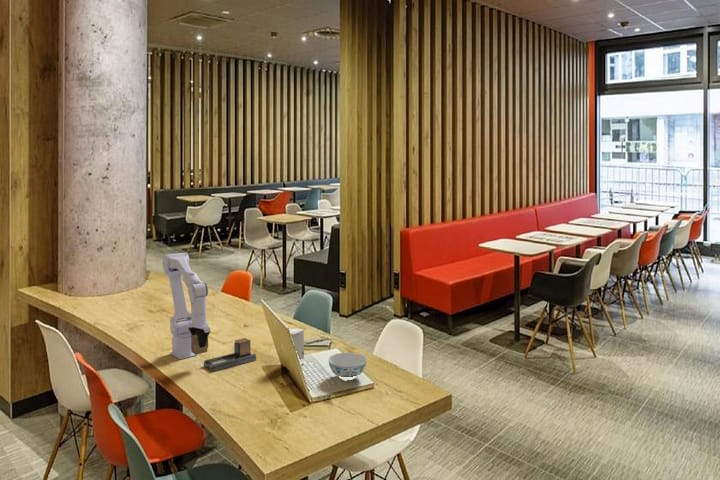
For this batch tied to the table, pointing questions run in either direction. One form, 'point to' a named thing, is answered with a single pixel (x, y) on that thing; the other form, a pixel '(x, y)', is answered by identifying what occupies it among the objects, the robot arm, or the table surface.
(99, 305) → the table surface
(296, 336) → the skincare box
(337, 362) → the chinaware
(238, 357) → the rail
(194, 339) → the walnut finger
